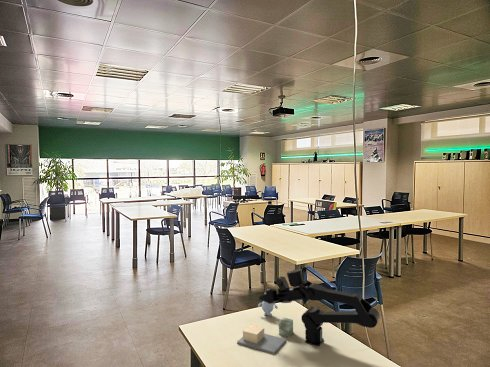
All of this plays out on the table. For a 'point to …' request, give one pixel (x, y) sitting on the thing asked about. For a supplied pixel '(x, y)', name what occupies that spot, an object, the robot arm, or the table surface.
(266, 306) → the toy figure
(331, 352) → the table surface
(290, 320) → the sage block
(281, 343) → the build plate
